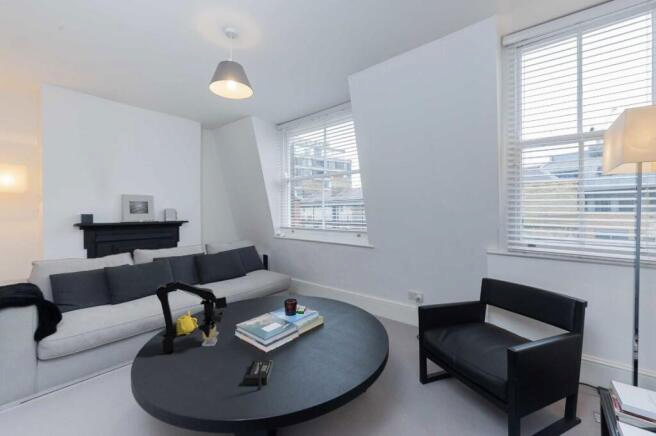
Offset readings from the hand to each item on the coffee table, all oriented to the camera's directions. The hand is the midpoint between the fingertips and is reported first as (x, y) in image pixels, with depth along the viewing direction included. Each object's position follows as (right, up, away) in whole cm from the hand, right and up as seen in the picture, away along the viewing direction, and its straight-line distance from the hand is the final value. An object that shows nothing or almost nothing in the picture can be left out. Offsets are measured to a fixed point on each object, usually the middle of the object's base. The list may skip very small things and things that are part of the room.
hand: (209, 334), depth 175 cm
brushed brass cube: (0, -1, 0) cm, 1 cm away
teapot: (-22, -5, +16) cm, 28 cm away
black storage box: (+39, -7, -35) cm, 53 cm away
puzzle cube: (+52, -4, +31) cm, 61 cm away
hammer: (0, -5, +5) cm, 7 cm away
